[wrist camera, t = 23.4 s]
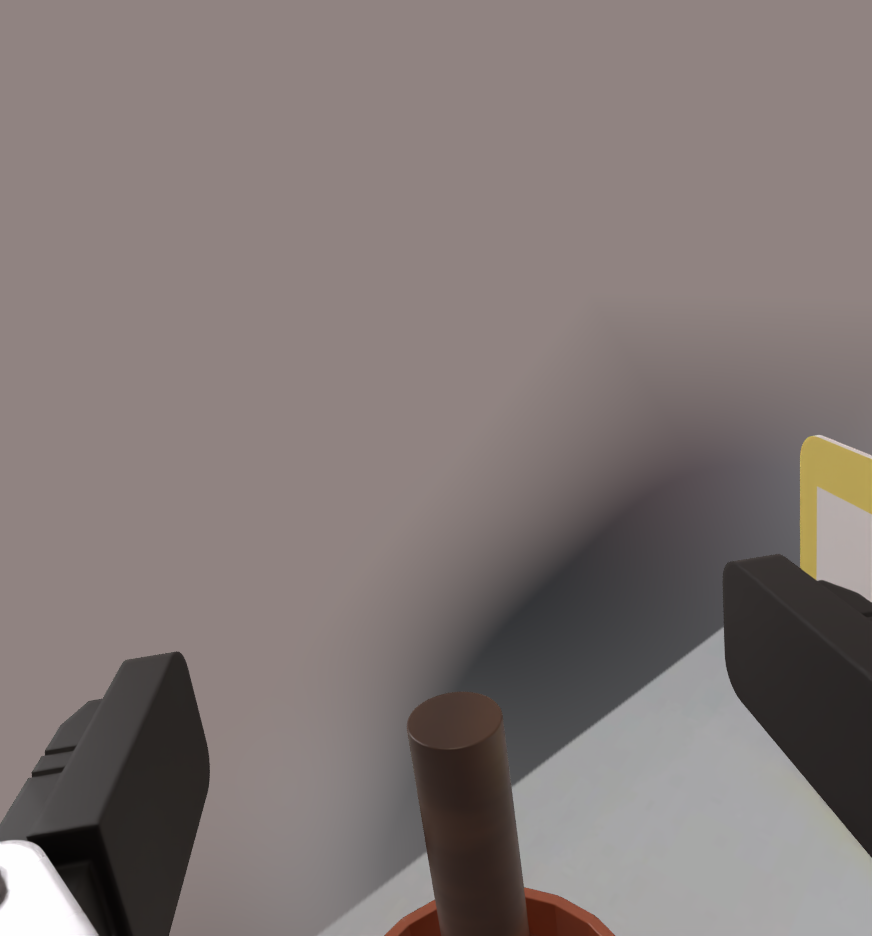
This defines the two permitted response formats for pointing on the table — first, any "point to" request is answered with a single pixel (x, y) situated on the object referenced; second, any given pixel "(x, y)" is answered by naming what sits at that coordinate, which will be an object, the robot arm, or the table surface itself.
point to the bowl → (549, 916)
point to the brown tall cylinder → (468, 815)
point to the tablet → (836, 514)
